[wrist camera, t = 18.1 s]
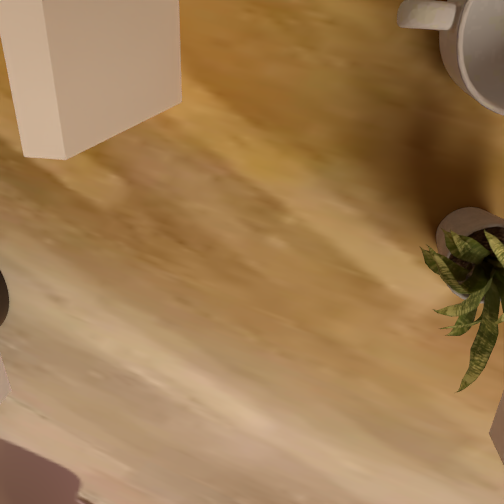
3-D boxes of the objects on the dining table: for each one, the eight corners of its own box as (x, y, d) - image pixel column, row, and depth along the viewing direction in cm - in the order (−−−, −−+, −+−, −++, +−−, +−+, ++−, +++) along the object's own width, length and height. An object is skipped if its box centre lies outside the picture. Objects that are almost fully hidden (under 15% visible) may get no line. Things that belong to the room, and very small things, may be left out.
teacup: (616, -36, 30) (712, -59, 23) (530, 120, 35) (587, 141, 28) (423, -95, 30) (460, -137, 23) (364, 70, 35) (378, 78, 28)
